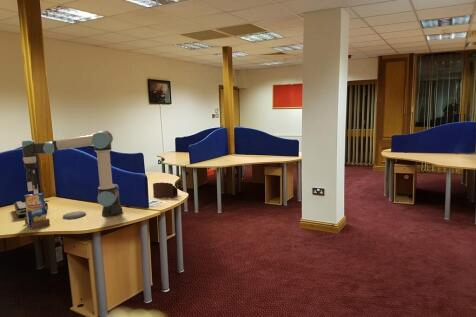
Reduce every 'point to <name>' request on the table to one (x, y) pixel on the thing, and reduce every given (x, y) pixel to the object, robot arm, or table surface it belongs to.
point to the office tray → (24, 208)
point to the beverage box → (35, 207)
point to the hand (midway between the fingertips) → (33, 192)
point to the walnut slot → (38, 223)
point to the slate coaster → (74, 215)
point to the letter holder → (164, 190)
